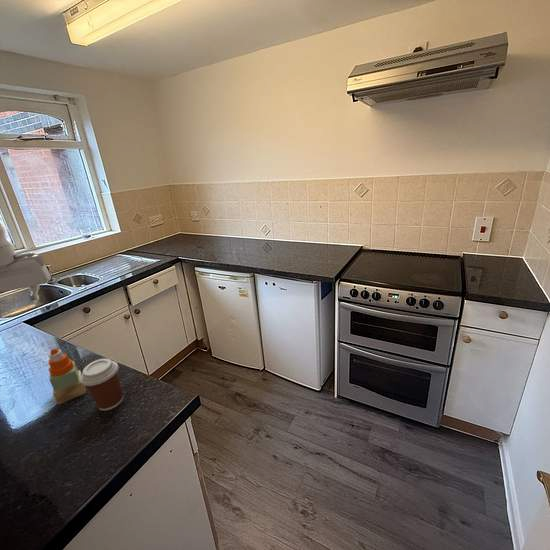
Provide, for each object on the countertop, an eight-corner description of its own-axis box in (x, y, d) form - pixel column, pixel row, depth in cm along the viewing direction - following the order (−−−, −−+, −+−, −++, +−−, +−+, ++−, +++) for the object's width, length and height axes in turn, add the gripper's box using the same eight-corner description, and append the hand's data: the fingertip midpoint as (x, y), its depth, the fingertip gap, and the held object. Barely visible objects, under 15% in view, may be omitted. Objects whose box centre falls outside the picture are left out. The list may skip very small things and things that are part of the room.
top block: (55, 392, 83) (49, 380, 82) (55, 380, 88) (50, 369, 86) (79, 381, 86) (74, 370, 85) (78, 371, 91) (73, 360, 89)
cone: (48, 379, 82) (38, 357, 80) (54, 367, 87) (45, 346, 85) (71, 372, 84) (61, 351, 81) (76, 361, 89) (67, 341, 86)
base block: (58, 404, 84) (52, 393, 83) (58, 391, 89) (53, 380, 88) (86, 392, 88) (81, 382, 86) (84, 380, 93) (80, 370, 92)
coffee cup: (121, 411, 79) (107, 375, 75) (86, 416, 79) (70, 380, 74) (133, 387, 87) (121, 353, 83) (102, 392, 87) (88, 358, 83)
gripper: (43, 248, 86) (61, 291, 91) (-45, 262, 80) (-21, 308, 85) (35, 253, 80) (54, 299, 85) (-60, 269, 75) (-33, 317, 80)
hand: (16, 304), depth 85 cm, fingers open, 8 cm apart
